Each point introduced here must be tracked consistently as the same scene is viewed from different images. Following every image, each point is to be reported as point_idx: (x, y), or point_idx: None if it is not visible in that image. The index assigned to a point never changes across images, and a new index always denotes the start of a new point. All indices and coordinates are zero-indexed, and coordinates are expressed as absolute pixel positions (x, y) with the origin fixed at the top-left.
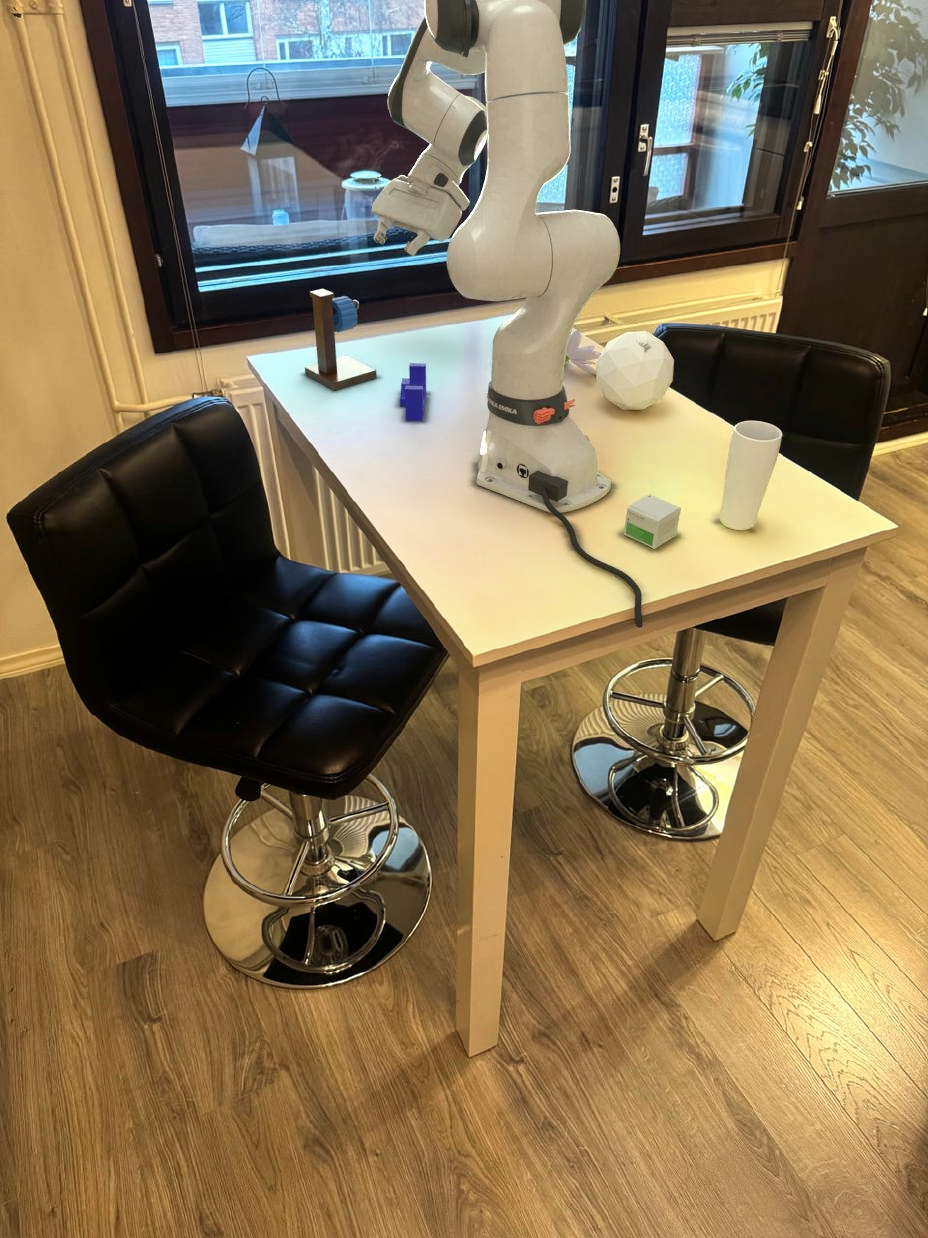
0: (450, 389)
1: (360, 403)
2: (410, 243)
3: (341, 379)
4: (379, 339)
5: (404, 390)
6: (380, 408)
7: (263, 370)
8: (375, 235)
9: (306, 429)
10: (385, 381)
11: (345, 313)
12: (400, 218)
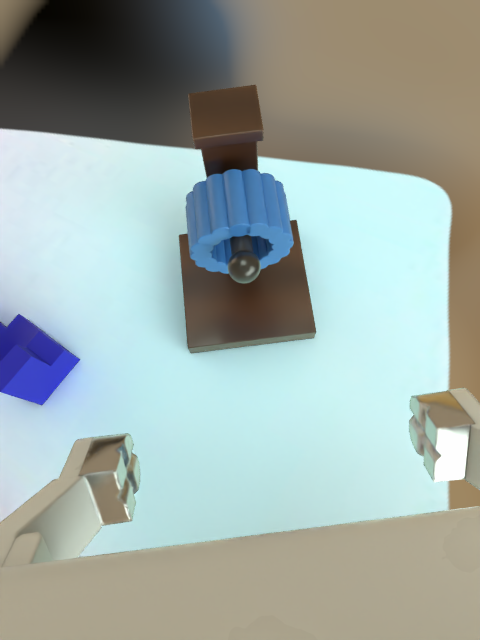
0: (24, 473)
1: (95, 260)
2: (85, 468)
3: (185, 256)
4: (435, 502)
5: (28, 333)
6: (48, 282)
7: (364, 170)
8: (463, 397)
9: (63, 137)
10: (161, 361)
11: (187, 209)
12: (309, 535)
